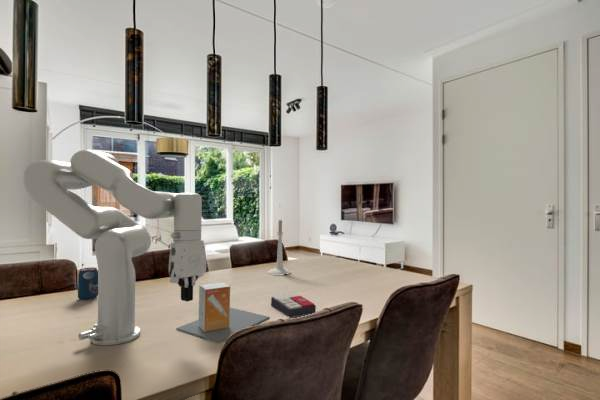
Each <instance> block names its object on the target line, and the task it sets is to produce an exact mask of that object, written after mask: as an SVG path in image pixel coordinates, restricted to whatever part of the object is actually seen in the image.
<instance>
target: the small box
mask: <svg viewBox="0 0 600 400" xmlns="http://www.w3.org/2000/svg"><path fill="white" fill-rule="evenodd" d="M198 286H199V287H198V288H199V289H198V320H199V327H200V328H201V329H202V330H203V331H204V332H208V331H213V330H218V329H223V328H229V318H230V308H231V285H228V284H227V283H225V282H214V283H209V284H200V285H198Z"/></svg>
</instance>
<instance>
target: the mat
mask: <svg viewBox="0 0 600 400" xmlns="http://www.w3.org/2000/svg"><path fill="white" fill-rule="evenodd" d="M269 319H270V316H267V315H263V314H259V313H254V312H250V311H246V310H244V309H243V310H242V309H238V308H234V307H230V318H229V328H223V329H218V330H213V331H208V332H204V331H203V330H202V329H201V328H200V327H199V319H196V320H193V321H191V322H189V323H186V324H184V325H180V326H179V327H176V328H175V330H176V331H179V332H183V333H185V334H188V335H192V336H195V337H198V338H201V339H205V340H207V341H210V342H214V343H217V344H220V343H222V342H224V341H227V340H228V339H229V338H228V337H229V336H230V335H231V334H233V333H235V332H236V331H238V330H241V329H243V328H246V327H249V326H253V325H255V326H256V324H257V325H259V324H260V323H263V322H265V321H267V320H269ZM253 327H254V326H253ZM227 338H228V339H227Z"/></svg>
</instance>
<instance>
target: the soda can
mask: <svg viewBox="0 0 600 400" xmlns="http://www.w3.org/2000/svg"><path fill="white" fill-rule="evenodd" d="M77 298H78V300H79V301H83V302H85V301H86V302H87V300H88V301H92V300H96V299H97V298H98V267H84V268H80V269H79V271H78V274H77ZM95 298H96V299H95Z"/></svg>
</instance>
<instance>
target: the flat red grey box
mask: <svg viewBox="0 0 600 400" xmlns="http://www.w3.org/2000/svg"><path fill="white" fill-rule="evenodd" d="M270 298H271V299H270V300H271V301H270V305H271V307H272V308H274V309H275V310H278V311H279V312H281V313H282V314H283V315H285V316H286V315H287V316H286V317H288V316H289V317H288V318H294V317H293V316H295V317H300V316H304V315H310V313H311V314H315V313H316V304H315V303H314V302H312V301H310V300H308V299H307V298H305V297H303V296H302V295H299V294H298V293H294V292H293V293H287V294H281V295H275V296H271V297H270ZM314 312H315V313H314ZM303 314H304V315H303Z"/></svg>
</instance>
